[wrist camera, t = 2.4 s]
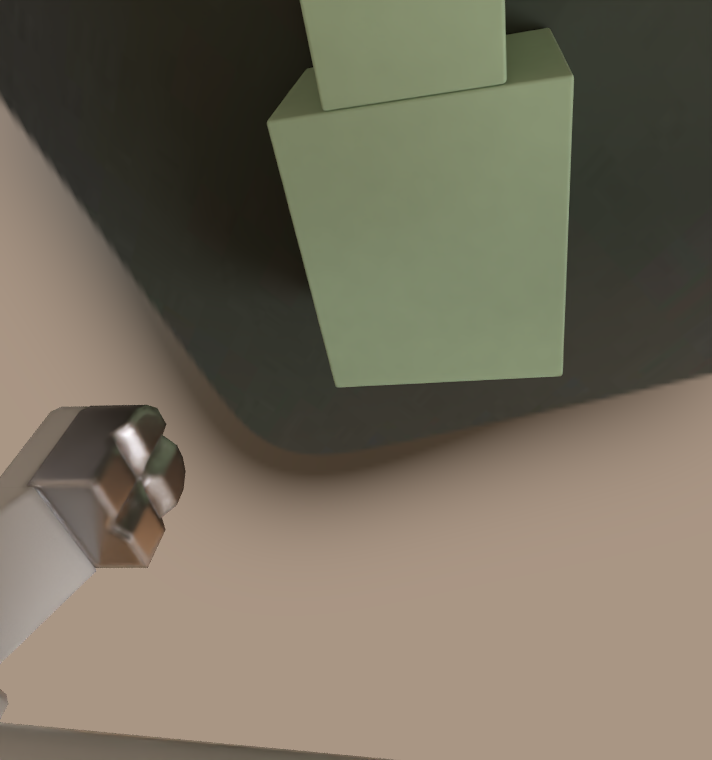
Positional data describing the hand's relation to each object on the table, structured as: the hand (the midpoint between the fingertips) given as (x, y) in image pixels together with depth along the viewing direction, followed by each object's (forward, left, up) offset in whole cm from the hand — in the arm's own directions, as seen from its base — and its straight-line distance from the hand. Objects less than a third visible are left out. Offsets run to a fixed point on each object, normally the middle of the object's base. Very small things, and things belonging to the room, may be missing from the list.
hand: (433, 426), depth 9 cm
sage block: (0, +1, -8) cm, 8 cm away
